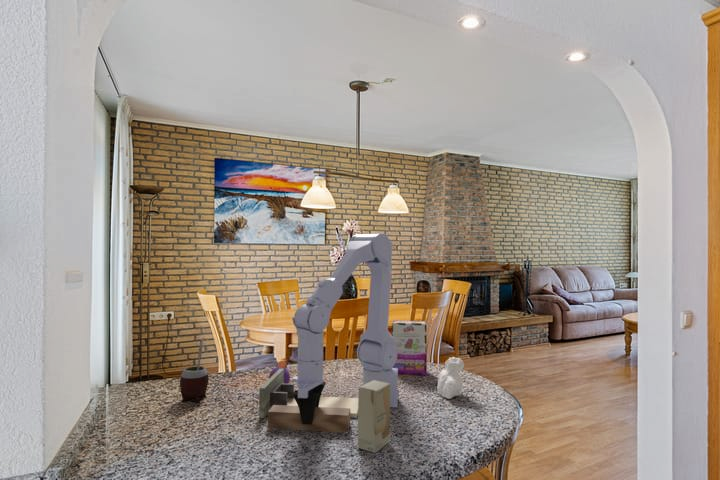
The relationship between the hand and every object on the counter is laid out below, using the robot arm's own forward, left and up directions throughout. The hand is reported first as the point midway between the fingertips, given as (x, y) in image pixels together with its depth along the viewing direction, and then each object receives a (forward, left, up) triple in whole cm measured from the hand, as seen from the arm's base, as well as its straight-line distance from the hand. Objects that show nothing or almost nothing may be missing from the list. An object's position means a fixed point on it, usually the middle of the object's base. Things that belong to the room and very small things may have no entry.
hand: (309, 419), depth 94 cm
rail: (0, 0, -2) cm, 2 cm away
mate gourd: (+34, -13, -2) cm, 36 cm away
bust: (-34, -25, -2) cm, 42 cm away
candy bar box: (-23, -44, -2) cm, 50 cm away
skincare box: (-15, +7, -2) cm, 17 cm away
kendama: (+16, -31, -2) cm, 35 cm away
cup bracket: (+1, -11, -2) cm, 11 cm away
